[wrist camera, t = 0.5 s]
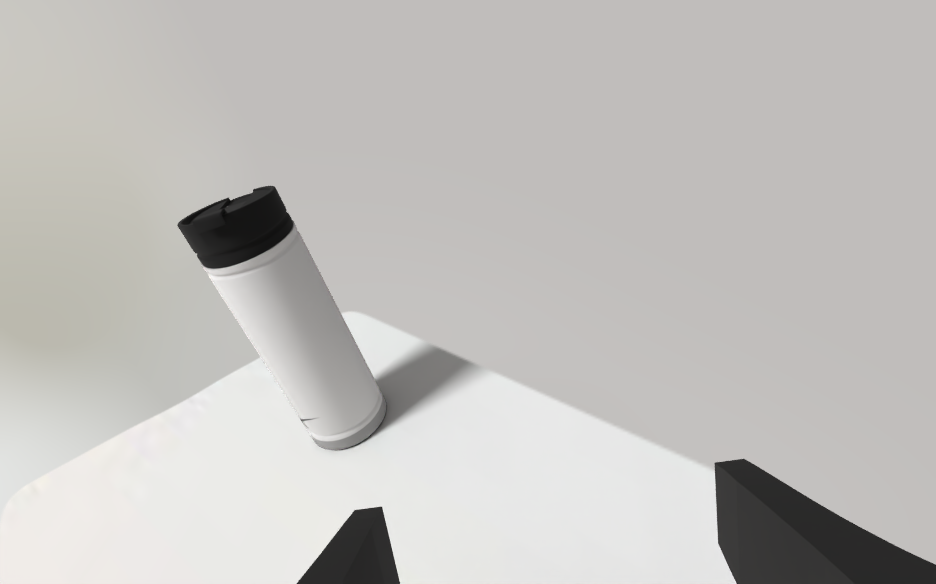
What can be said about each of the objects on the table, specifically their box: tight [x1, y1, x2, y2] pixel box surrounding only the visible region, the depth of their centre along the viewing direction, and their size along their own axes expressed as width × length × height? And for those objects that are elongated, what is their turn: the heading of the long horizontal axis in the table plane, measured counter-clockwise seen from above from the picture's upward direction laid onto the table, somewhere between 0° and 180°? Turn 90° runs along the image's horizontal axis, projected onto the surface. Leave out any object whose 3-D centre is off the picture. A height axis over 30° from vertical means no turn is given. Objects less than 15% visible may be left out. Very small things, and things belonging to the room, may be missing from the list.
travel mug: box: [178, 186, 386, 450], centre depth 39 cm, size 6×7×20 cm
